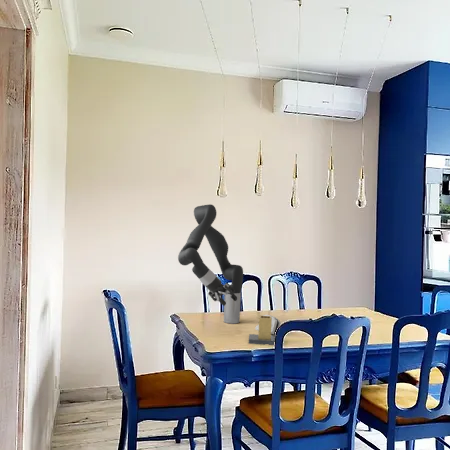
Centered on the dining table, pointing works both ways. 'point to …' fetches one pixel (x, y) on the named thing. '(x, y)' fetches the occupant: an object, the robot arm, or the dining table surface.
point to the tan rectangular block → (265, 327)
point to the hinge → (274, 325)
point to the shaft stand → (260, 340)
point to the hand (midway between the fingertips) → (230, 302)
